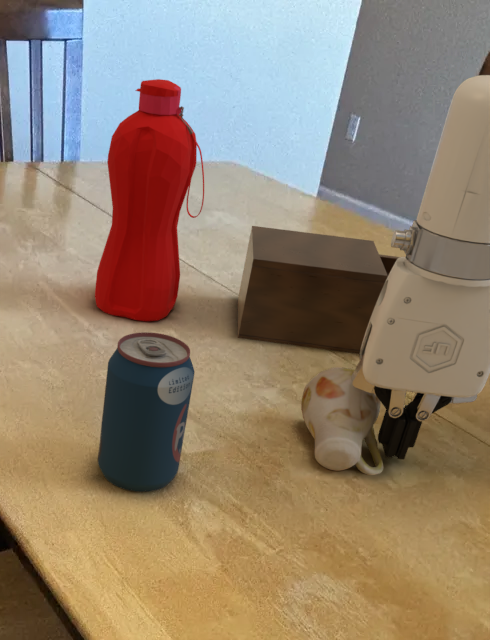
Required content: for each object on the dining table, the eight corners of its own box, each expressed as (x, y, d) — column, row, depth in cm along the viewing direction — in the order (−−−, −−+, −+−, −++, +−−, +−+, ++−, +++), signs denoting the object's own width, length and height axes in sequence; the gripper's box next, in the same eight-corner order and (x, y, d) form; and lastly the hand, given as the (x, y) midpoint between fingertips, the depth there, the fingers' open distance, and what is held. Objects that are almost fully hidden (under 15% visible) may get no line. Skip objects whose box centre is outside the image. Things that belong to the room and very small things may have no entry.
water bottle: (174, 333, 101) (210, 96, 86) (86, 314, 104) (105, 80, 89) (194, 307, 108) (230, 83, 94) (111, 290, 111) (133, 69, 96)
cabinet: (352, 317, 110) (373, 240, 104) (364, 357, 100) (388, 275, 94) (237, 302, 111) (251, 225, 105) (237, 340, 101) (253, 258, 95)
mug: (294, 478, 77) (295, 364, 76) (303, 474, 87) (304, 372, 86) (383, 478, 75) (386, 360, 74) (382, 473, 84) (385, 369, 83)
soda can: (188, 494, 74) (212, 363, 67) (110, 502, 72) (126, 368, 65) (159, 452, 79) (178, 327, 72) (86, 458, 77) (98, 330, 70)
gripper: (368, 256, 67) (313, 461, 78) (568, 279, 66) (484, 483, 77) (357, 227, 73) (307, 421, 84) (539, 248, 72) (465, 441, 83)
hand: (392, 450), depth 80 cm, fingers closed
